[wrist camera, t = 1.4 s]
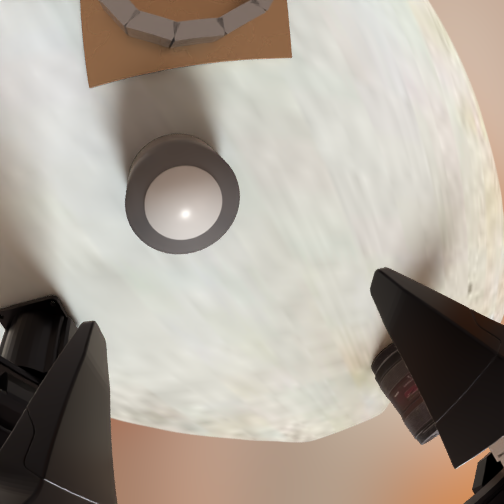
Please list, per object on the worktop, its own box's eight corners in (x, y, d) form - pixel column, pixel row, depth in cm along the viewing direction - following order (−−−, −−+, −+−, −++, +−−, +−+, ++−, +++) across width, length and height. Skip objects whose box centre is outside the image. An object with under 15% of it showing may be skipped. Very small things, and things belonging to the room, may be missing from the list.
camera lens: (384, 338, 38) (449, 419, 25) (417, 332, 41) (476, 400, 29) (357, 377, 41) (410, 454, 29) (391, 369, 44) (441, 434, 32)
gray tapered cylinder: (140, 232, 19) (142, 267, 16) (119, 146, 16) (112, 162, 13) (227, 212, 21) (245, 241, 17) (215, 125, 18) (234, 136, 14)
